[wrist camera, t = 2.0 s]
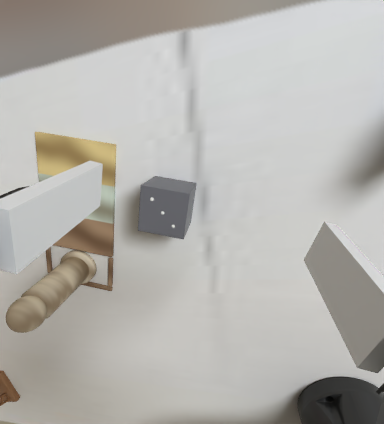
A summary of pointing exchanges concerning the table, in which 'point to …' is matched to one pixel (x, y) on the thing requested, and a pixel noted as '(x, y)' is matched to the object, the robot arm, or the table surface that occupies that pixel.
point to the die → (166, 206)
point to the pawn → (50, 292)
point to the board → (104, 215)
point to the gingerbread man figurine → (7, 390)
